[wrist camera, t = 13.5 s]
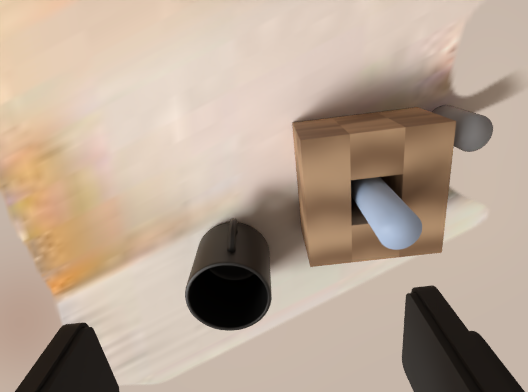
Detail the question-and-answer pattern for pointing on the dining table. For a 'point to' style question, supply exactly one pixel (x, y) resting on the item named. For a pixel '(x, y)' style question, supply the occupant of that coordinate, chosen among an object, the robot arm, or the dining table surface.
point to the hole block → (369, 166)
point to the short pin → (467, 127)
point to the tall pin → (386, 213)
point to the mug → (230, 278)
